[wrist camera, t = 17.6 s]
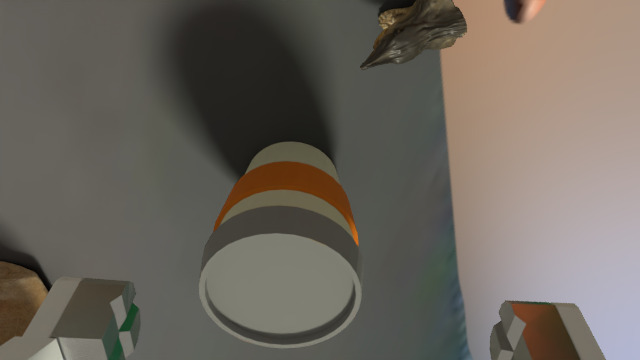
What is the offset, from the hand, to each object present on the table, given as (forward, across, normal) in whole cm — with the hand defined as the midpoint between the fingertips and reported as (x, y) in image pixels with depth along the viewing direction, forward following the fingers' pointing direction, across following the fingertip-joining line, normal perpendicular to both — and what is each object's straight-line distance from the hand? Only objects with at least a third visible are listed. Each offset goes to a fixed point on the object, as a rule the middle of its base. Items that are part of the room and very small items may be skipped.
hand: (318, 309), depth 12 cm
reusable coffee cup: (+34, +2, +20) cm, 40 cm away
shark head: (+34, -7, +4) cm, 35 cm away
